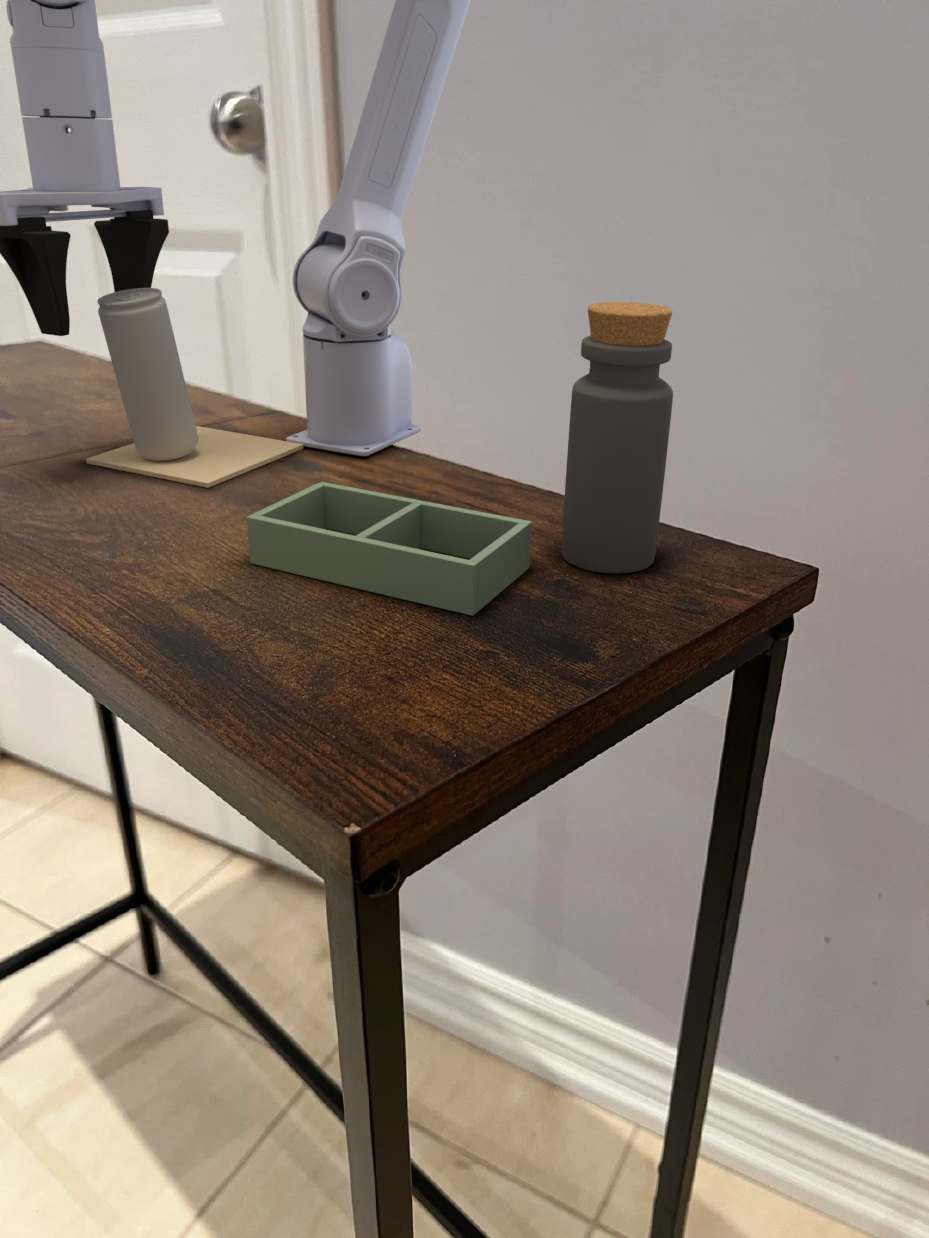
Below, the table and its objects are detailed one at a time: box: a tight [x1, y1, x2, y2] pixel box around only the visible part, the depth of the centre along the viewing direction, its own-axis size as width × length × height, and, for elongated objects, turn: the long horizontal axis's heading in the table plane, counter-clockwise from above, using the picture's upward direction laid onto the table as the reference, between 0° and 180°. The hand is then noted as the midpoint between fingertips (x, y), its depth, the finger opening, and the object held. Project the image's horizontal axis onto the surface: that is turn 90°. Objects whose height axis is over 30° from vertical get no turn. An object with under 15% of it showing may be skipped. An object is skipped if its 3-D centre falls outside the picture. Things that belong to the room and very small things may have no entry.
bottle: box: [561, 301, 674, 575], centre depth 58 cm, size 6×6×15 cm
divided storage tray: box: [246, 481, 533, 617], centre depth 59 cm, size 8×15×3 cm, turn 63°
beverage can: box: [97, 287, 198, 461], centre depth 74 cm, size 5×5×12 cm
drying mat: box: [85, 425, 304, 489], centre depth 79 cm, size 12×12×1 cm
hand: (96, 326), depth 72 cm, fingers open, 7 cm apart
